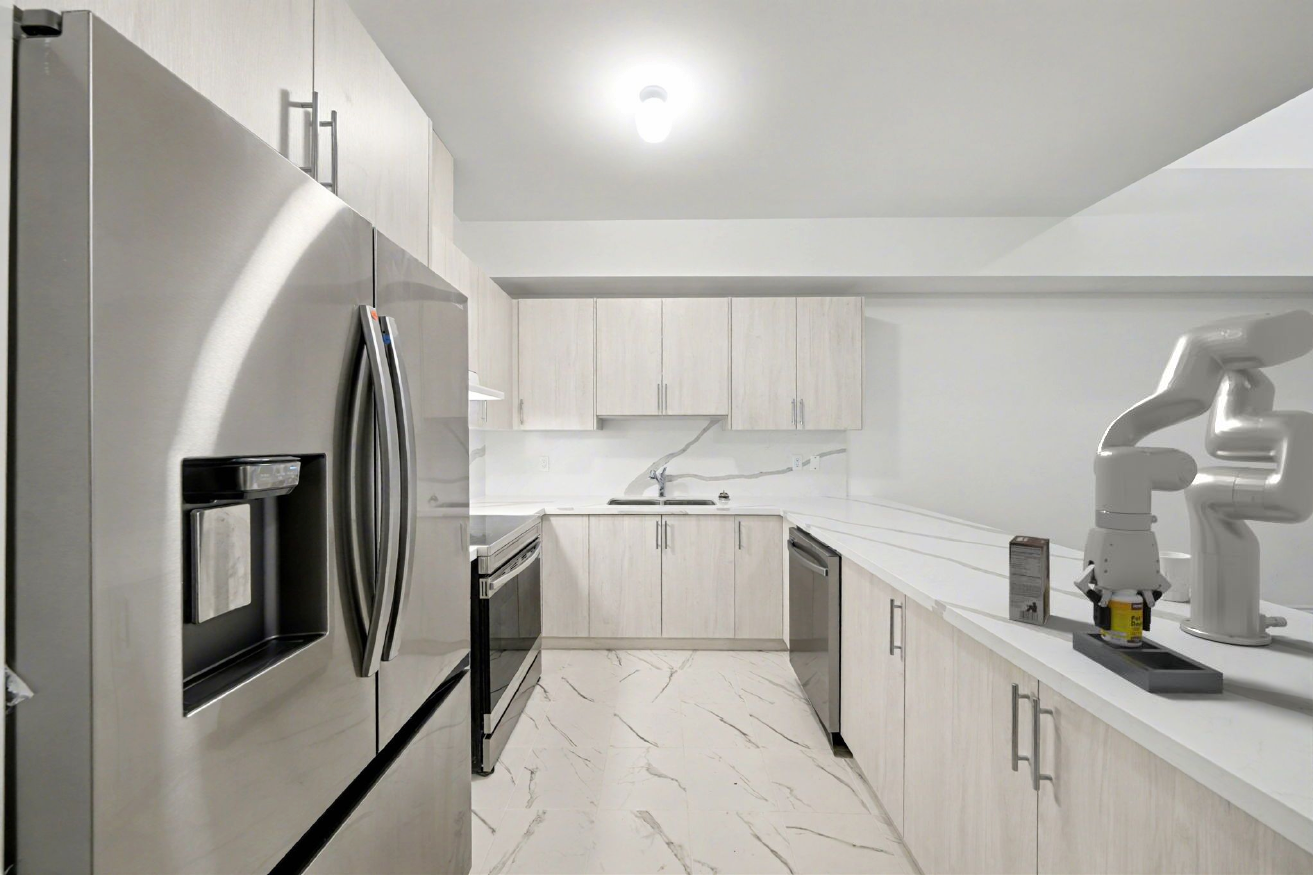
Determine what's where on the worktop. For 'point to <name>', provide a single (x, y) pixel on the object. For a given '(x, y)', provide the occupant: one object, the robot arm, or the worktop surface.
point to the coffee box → (1029, 579)
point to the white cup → (1176, 575)
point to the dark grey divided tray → (1150, 665)
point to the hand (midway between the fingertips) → (1121, 627)
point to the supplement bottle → (1125, 618)
